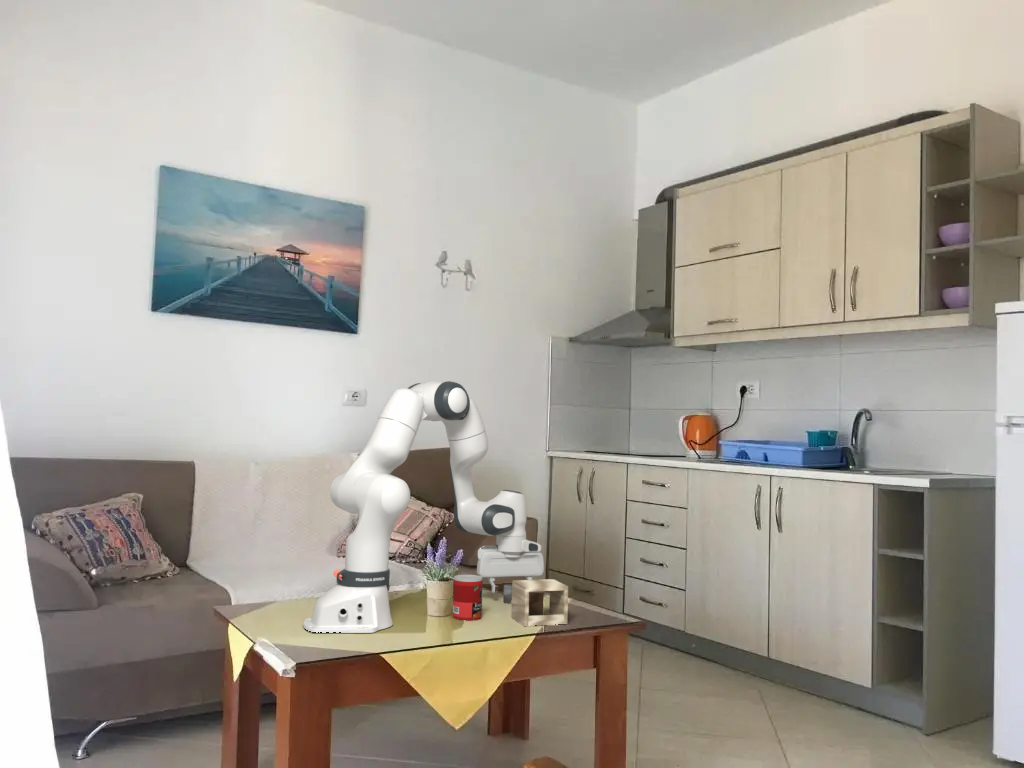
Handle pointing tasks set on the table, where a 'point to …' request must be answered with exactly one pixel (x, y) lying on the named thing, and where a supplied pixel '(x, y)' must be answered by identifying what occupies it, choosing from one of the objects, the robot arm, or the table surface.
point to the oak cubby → (556, 604)
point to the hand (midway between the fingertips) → (509, 591)
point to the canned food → (467, 597)
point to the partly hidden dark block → (534, 599)
